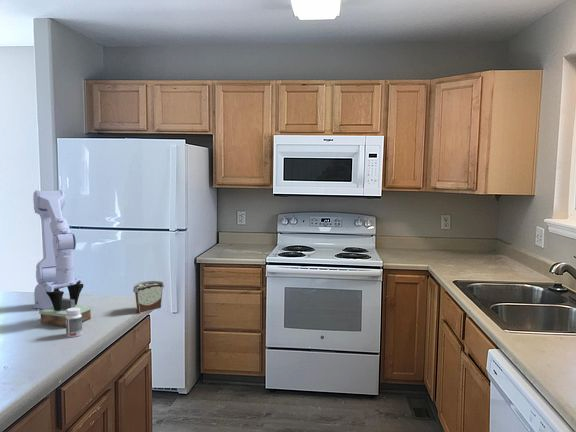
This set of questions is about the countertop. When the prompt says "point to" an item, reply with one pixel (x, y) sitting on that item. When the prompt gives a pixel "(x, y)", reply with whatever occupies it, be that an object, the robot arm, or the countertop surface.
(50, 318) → the crate
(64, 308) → the lid
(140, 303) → the food container
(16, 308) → the countertop surface
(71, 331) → the pill bottle
